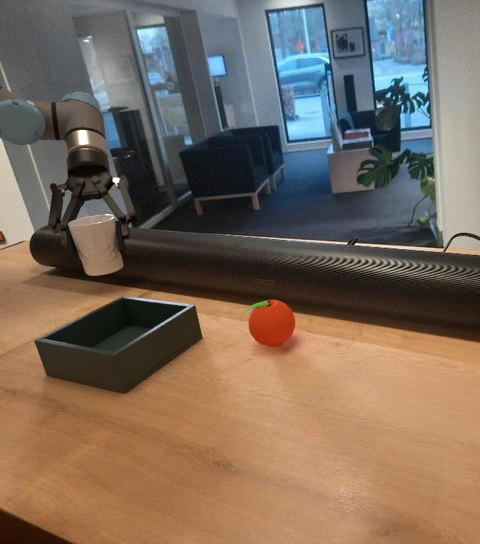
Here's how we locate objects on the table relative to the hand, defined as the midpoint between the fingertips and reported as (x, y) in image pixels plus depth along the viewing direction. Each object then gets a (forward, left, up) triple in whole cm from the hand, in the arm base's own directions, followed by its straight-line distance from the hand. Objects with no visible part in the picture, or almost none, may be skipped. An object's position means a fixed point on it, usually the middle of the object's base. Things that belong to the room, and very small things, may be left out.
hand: (98, 257), depth 92 cm
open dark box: (+20, -14, -9) cm, 26 cm away
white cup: (-2, +2, -4) cm, 5 cm away
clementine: (+40, -5, -10) cm, 41 cm away
